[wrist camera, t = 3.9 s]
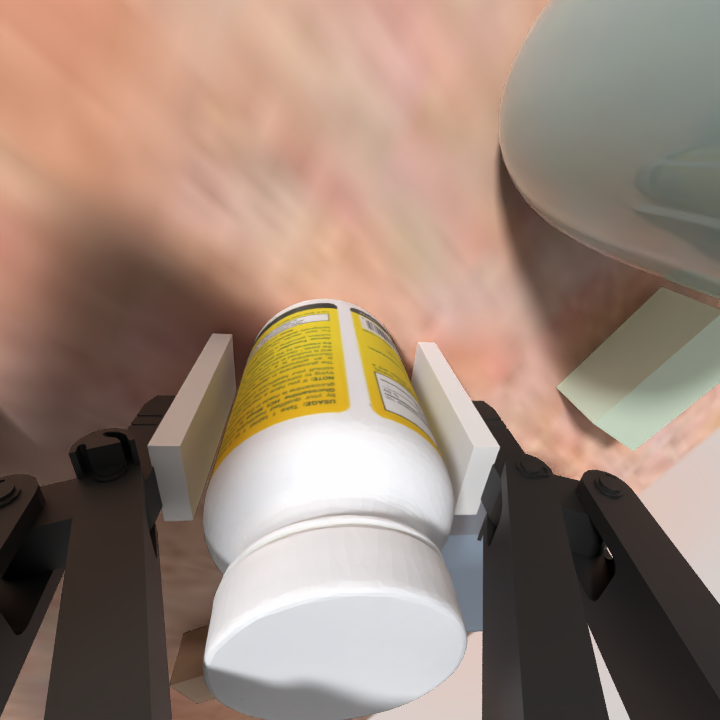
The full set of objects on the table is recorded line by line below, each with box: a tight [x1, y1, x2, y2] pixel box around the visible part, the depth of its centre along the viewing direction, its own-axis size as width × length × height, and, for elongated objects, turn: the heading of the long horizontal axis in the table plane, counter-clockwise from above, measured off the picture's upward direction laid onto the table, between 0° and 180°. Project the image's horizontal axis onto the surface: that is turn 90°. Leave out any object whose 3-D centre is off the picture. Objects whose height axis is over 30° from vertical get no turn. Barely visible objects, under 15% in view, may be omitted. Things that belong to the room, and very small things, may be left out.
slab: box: [441, 502, 487, 632], centre depth 21 cm, size 9×9×3 cm
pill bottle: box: [203, 299, 467, 720], centre depth 11 cm, size 6×6×11 cm
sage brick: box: [556, 287, 720, 451], centre depth 16 cm, size 6×3×3 cm, turn 145°
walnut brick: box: [169, 625, 215, 704], centre depth 24 cm, size 6×3×3 cm, turn 110°
